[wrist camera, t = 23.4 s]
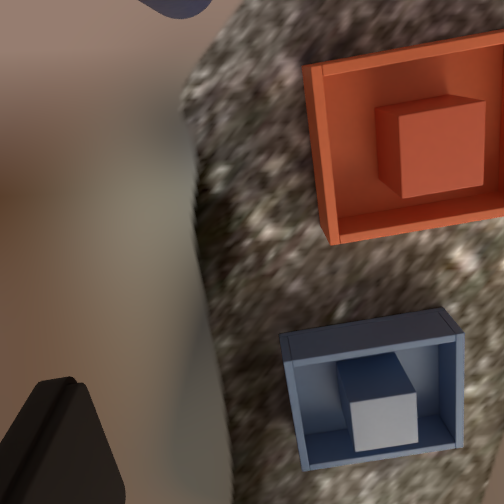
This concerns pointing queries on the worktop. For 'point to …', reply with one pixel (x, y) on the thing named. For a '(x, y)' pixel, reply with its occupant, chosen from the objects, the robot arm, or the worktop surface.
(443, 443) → the blue bin
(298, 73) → the worktop surface
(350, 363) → the blue cubic block piece
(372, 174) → the terracotta bin
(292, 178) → the worktop surface
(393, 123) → the terracotta block
